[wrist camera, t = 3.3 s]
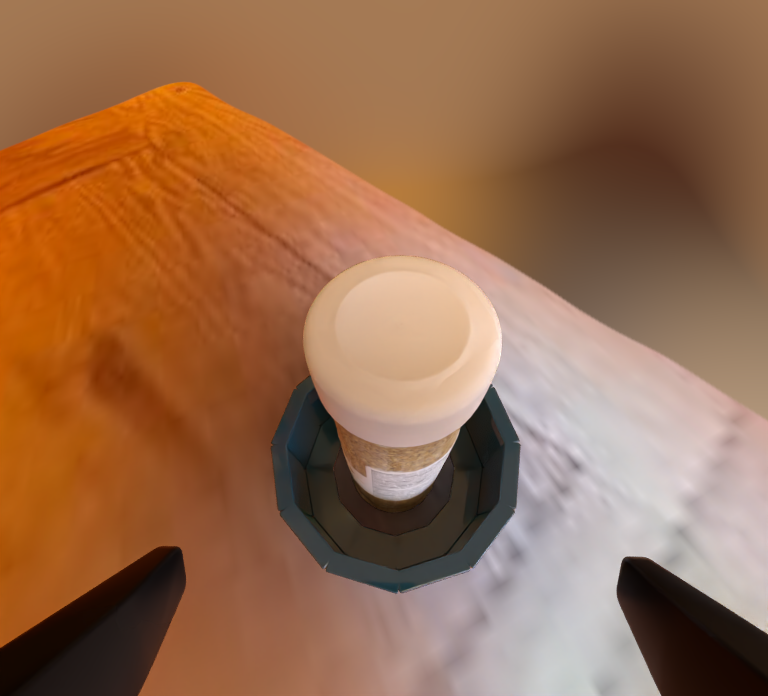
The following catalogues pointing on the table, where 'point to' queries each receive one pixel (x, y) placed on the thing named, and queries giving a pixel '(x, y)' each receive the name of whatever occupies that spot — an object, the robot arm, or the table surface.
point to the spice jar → (400, 369)
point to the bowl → (411, 549)
